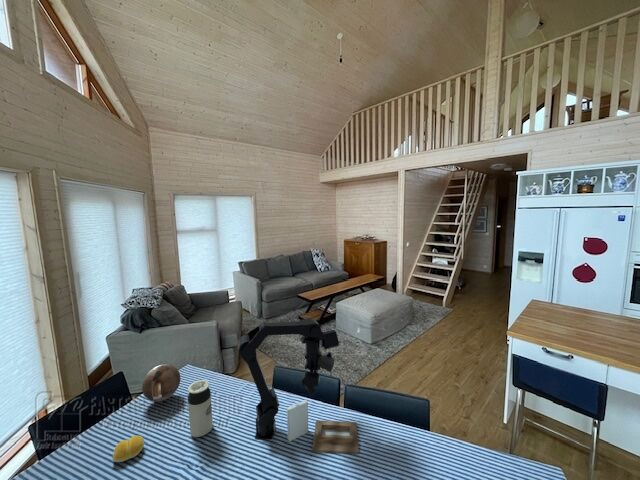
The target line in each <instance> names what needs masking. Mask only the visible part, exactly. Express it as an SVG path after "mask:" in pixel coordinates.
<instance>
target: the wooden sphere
mask: <svg viewBox="0 0 640 480" xmlns="http://www.w3.org/2000/svg"><path fill="white" fill-rule="evenodd" d="M180 383H181V373H180V371H179V369H178V368H177V367H176V366H174V365H173V364H168V363H167V364H166V363H165V364H164V363H163V364H160V365H157V366H154V367H153V368H152V369H150V371H148V372H147V374H146V375H145V376H144V379H143V382H142V386H141V389H142V394H143V395H144V397H145V398H146V399H147V400H149V401H151V402H163V401H166V400H167V399H169V398H171V397H172V396H173V395H174V394H175V393H176V392H177V390H178V388H179V386H180Z"/></svg>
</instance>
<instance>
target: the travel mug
mask: <svg viewBox="0 0 640 480" xmlns="http://www.w3.org/2000/svg"><path fill="white" fill-rule="evenodd" d="M209 386H210V382H209V381H208V380H206V379H205V380H204V379H201V380H200V379H199V380H197V381H194V382H192V383H191V384H190V385H189V386H188V388H187V391H188V393H189V394H188V395H187V405H188V406H187V407H188V419H189V421H188V422H189V430H190V431H189V433H190V435H191V436H192V437H195V438H200V437H203V436H205V435H207V434H208V433H209V432H210V431H211V430H212V429H213V427H214V426H213V425H214V424H213V423H214V422H213V409H212V395H211V393H212V392H211V389H210V388H209Z"/></svg>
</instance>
